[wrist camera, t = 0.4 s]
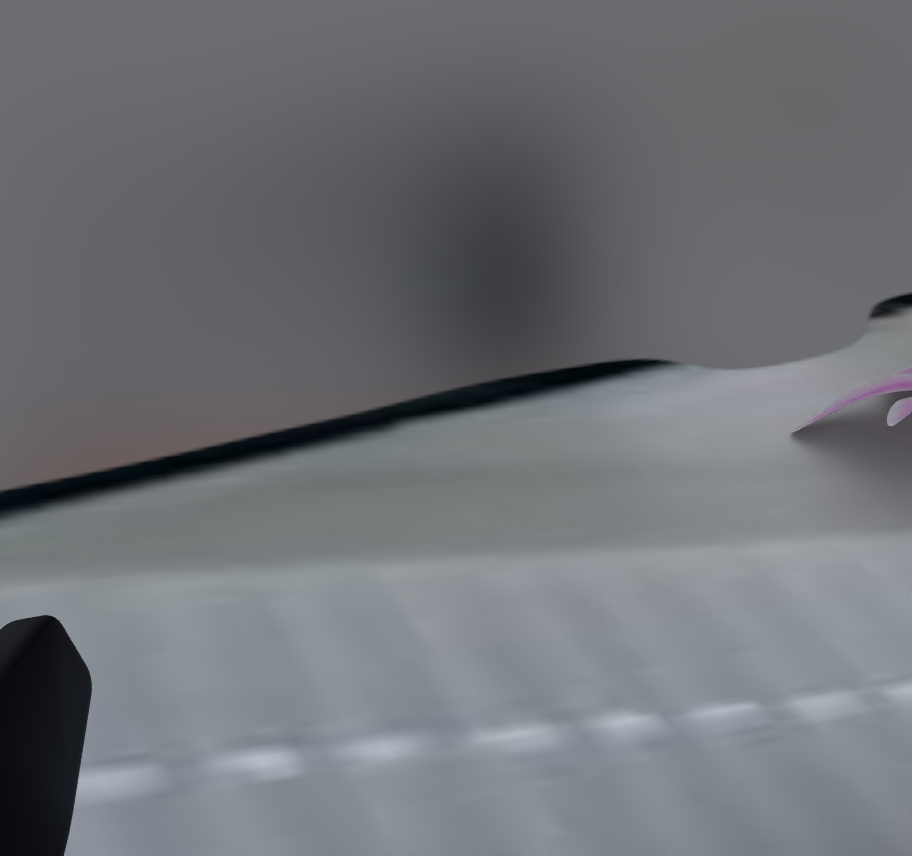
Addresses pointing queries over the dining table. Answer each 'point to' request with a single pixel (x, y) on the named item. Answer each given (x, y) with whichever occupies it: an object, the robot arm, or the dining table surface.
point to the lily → (900, 382)
